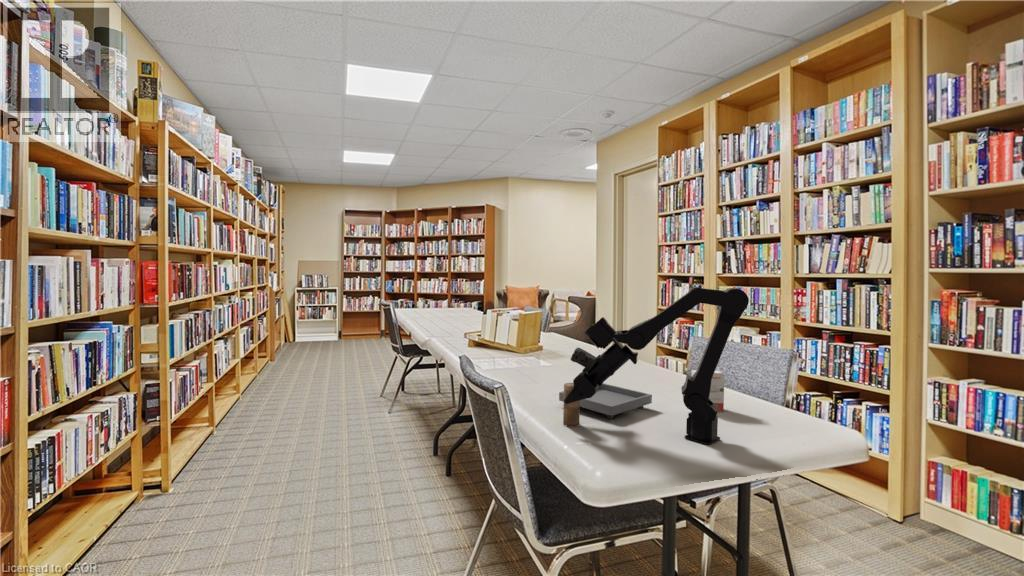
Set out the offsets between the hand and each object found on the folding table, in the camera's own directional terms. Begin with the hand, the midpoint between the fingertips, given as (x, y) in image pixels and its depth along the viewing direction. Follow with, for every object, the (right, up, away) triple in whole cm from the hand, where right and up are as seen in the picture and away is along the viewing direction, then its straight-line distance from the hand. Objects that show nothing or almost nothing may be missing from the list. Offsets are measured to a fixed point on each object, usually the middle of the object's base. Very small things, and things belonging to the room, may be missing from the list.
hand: (568, 398), depth 132 cm
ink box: (+44, -7, +16) cm, 47 cm away
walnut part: (+1, -7, 0) cm, 7 cm away
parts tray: (+13, -7, +16) cm, 22 cm away
